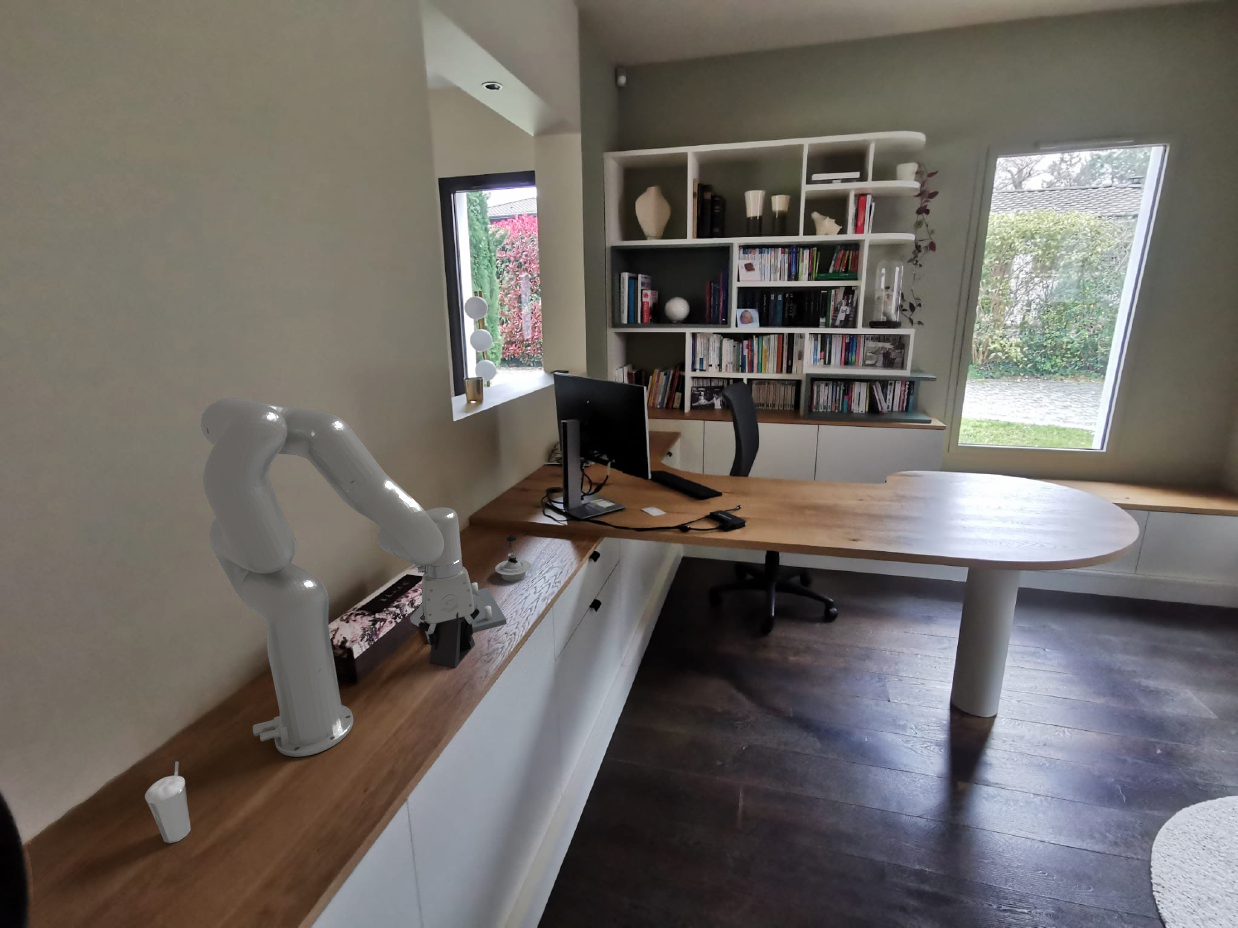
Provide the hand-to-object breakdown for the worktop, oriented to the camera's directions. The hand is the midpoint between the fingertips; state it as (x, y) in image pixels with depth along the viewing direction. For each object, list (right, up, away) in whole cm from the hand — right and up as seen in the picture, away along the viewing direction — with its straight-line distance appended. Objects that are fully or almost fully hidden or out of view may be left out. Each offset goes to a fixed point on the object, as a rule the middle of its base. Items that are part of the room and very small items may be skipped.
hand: (451, 641), depth 129 cm
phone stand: (0, -3, +1) cm, 3 cm away
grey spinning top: (+7, +7, +37) cm, 39 cm away
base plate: (-3, +1, +17) cm, 17 cm away
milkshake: (-28, -16, -42) cm, 53 cm away
